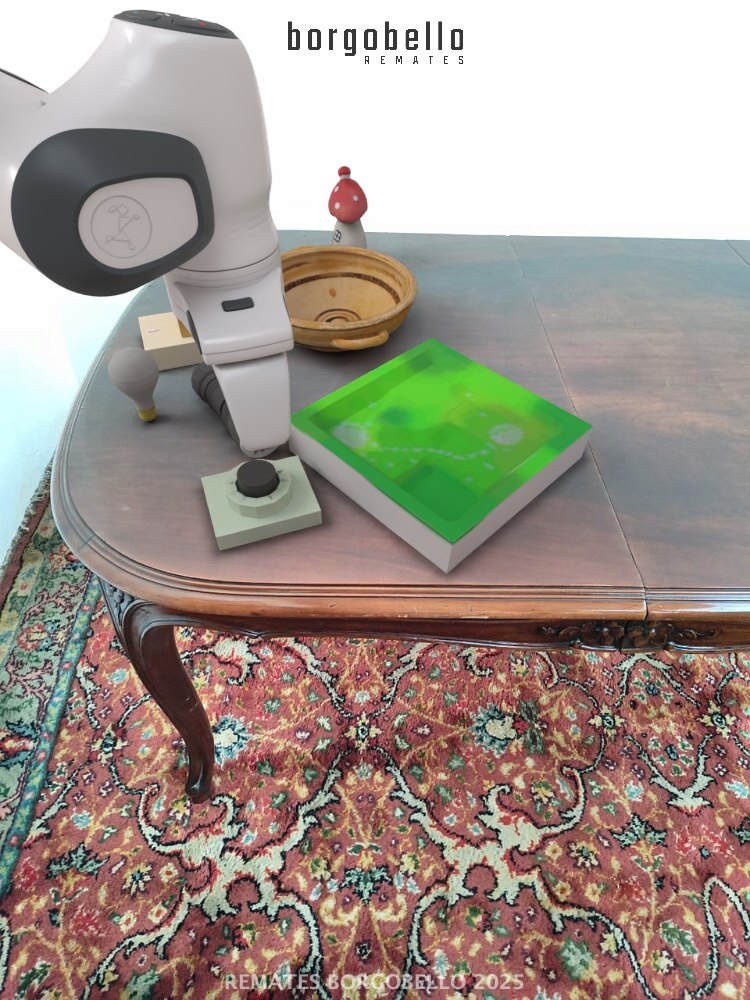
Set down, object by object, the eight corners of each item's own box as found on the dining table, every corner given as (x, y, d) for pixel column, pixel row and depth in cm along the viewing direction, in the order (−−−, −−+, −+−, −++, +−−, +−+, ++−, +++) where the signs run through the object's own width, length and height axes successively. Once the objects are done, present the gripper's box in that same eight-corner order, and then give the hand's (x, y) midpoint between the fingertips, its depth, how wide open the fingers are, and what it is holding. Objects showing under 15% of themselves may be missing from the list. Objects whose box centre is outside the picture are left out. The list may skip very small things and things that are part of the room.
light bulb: (159, 436, 72) (137, 368, 65) (118, 429, 73) (92, 360, 66) (179, 409, 76) (160, 341, 68) (140, 402, 77) (117, 334, 69)
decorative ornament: (335, 251, 108) (333, 161, 97) (370, 254, 107) (372, 164, 96) (324, 275, 101) (321, 181, 90) (362, 278, 101) (363, 185, 90)
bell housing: (219, 551, 61) (212, 526, 58) (204, 491, 66) (197, 465, 63) (322, 523, 63) (320, 498, 60) (299, 468, 69) (296, 443, 66)
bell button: (243, 502, 60) (240, 490, 59) (235, 476, 63) (232, 464, 62) (281, 492, 61) (279, 481, 60) (272, 467, 64) (270, 455, 63)
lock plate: (151, 372, 81) (144, 349, 78) (144, 338, 87) (137, 315, 84) (238, 356, 84) (234, 333, 82) (225, 324, 90) (221, 302, 87)
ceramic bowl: (449, 369, 83) (456, 318, 78) (283, 406, 77) (277, 353, 71) (371, 275, 102) (372, 228, 96) (232, 298, 95) (224, 249, 89)
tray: (428, 368, 83) (431, 337, 80) (581, 457, 72) (593, 426, 68) (289, 450, 71) (286, 418, 67) (446, 573, 59) (452, 542, 56)
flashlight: (191, 398, 78) (182, 363, 74) (228, 384, 80) (222, 349, 76) (245, 464, 69) (238, 429, 65) (285, 447, 71) (281, 411, 67)
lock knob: (195, 335, 81) (189, 310, 78) (181, 337, 81) (175, 312, 78) (188, 313, 85) (183, 289, 82) (176, 315, 85) (170, 291, 82)
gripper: (167, 233, 51) (200, 367, 61) (204, 359, 38) (238, 504, 48) (239, 223, 53) (260, 356, 63) (299, 342, 40) (313, 486, 50)
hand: (251, 422), depth 55 cm, fingers closed
